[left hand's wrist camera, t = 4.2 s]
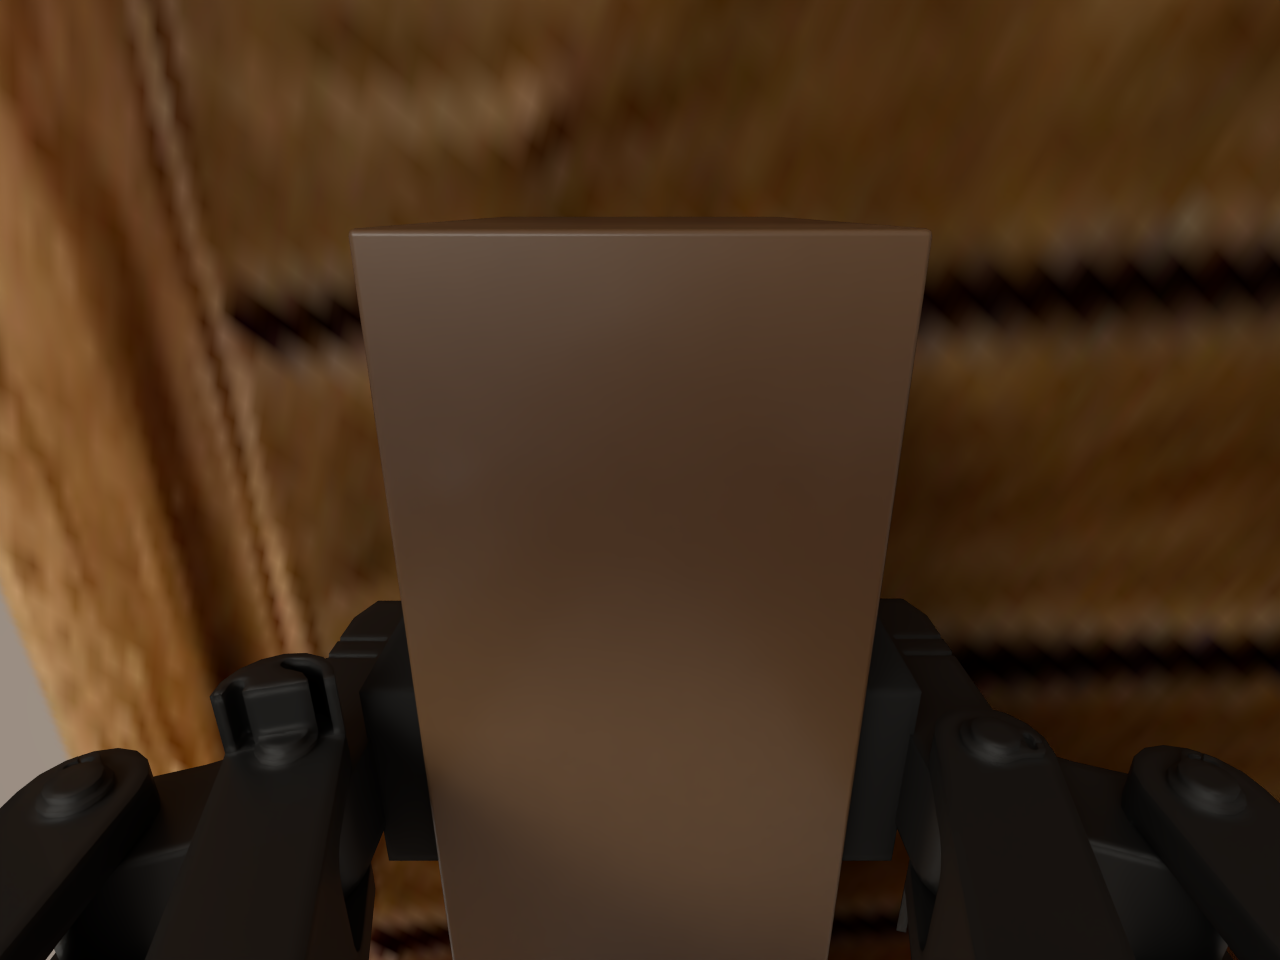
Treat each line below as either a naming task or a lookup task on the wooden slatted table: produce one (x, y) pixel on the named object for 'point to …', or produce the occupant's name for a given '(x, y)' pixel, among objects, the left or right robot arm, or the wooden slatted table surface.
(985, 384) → the wooden slatted table surface
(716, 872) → the bar
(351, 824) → the left robot arm
